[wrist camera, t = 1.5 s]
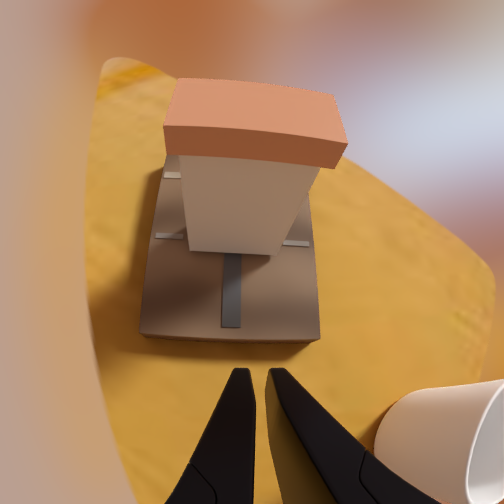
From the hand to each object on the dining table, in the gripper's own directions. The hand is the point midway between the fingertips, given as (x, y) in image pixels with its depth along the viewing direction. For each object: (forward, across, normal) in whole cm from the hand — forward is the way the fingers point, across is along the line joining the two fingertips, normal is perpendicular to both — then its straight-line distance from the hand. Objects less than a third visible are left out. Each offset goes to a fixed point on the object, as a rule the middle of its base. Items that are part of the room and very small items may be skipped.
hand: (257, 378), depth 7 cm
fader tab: (+14, 0, +1) cm, 14 cm away
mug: (+4, -16, +15) cm, 22 cm away
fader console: (+17, 0, +2) cm, 17 cm away
